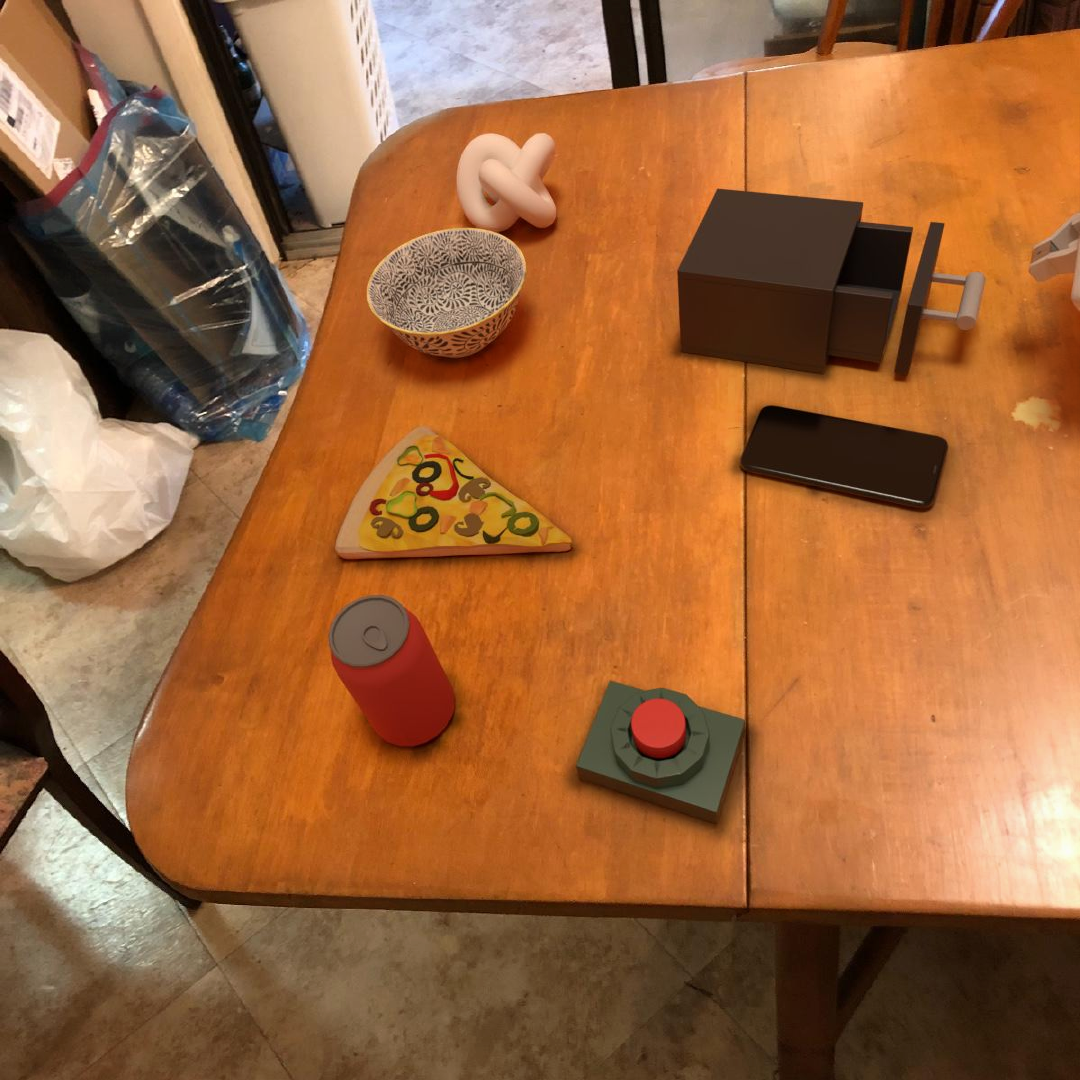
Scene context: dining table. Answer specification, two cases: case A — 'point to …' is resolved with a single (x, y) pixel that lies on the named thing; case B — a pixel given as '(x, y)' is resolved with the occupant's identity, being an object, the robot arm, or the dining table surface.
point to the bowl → (449, 290)
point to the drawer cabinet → (764, 278)
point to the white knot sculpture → (506, 181)
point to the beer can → (391, 670)
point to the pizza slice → (439, 508)
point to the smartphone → (846, 455)
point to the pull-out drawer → (891, 294)
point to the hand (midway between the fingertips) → (1034, 265)
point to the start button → (658, 728)
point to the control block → (671, 782)
